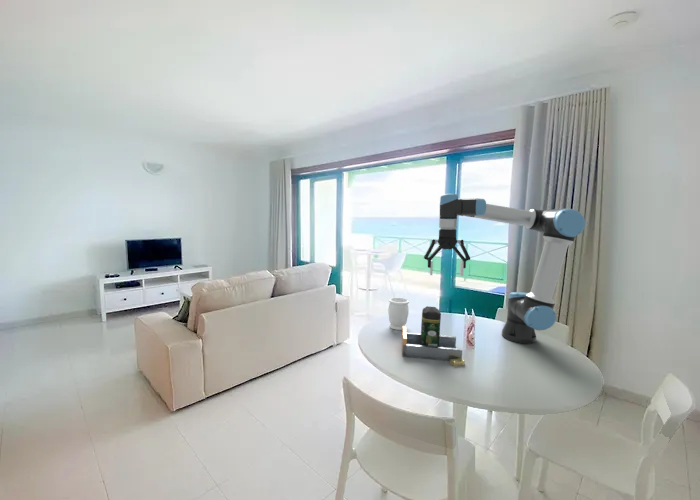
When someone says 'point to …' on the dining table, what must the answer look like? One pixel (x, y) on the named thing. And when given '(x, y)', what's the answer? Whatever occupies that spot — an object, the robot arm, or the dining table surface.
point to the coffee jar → (430, 326)
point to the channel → (429, 347)
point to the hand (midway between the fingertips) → (446, 275)
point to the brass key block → (457, 362)
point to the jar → (398, 313)
